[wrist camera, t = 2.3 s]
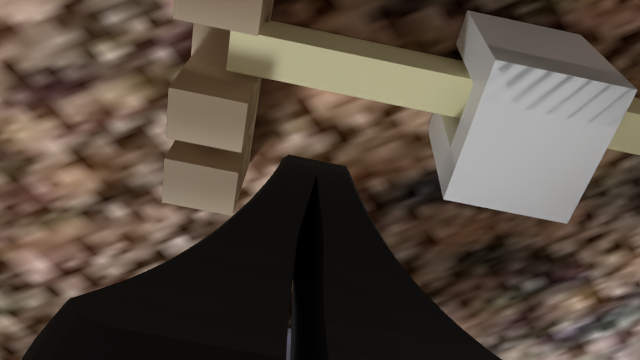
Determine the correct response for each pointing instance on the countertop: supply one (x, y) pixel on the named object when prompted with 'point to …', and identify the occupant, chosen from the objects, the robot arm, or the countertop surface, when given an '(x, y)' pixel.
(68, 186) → the countertop surface
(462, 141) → the sleeve
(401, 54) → the pale yellow bar
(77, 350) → the robot arm
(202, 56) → the comb
